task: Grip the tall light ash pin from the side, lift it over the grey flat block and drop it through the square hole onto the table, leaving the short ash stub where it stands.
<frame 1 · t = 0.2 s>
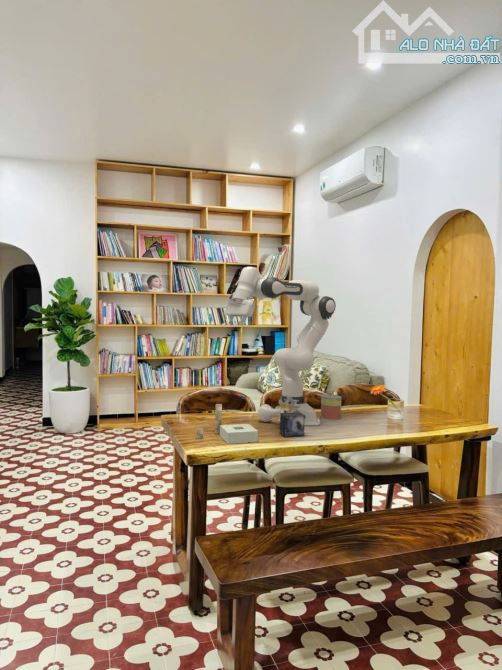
hand: (235, 324, 233), 52 cm above the table, tool tilted 20°, fingers open, 8 cm apart
canned food: (330, 417, 270), on the table
short pin: (199, 438, 220), on the table
tall pin: (218, 433, 229), on the table
small box: (291, 435, 230), on the table
grey flat block: (238, 438, 221), on the table
flower vase: (277, 425, 249), on the table, touching arm
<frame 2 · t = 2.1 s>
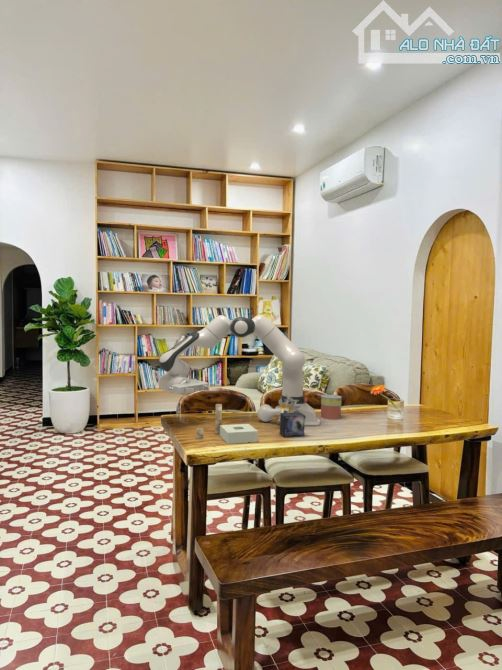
hand: (201, 389, 236), 20 cm above the table, tool horizontal, fingers open, 8 cm apart
nothing on the table moved.
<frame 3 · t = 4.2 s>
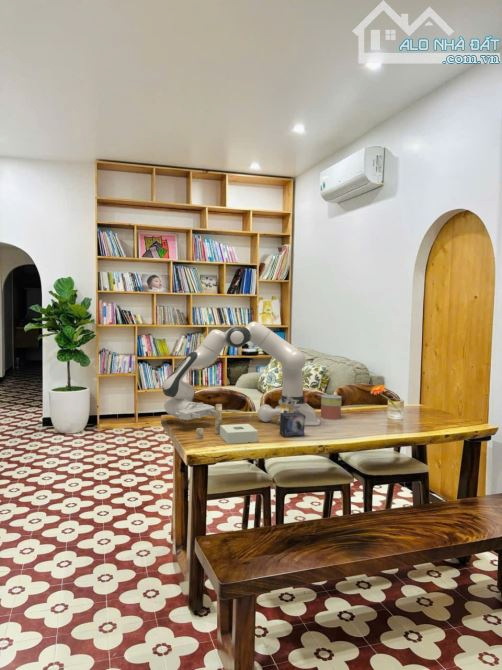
hand: (208, 414, 234), 8 cm above the table, tool horizontal, fingers open, 8 cm apart
nothing on the table moved.
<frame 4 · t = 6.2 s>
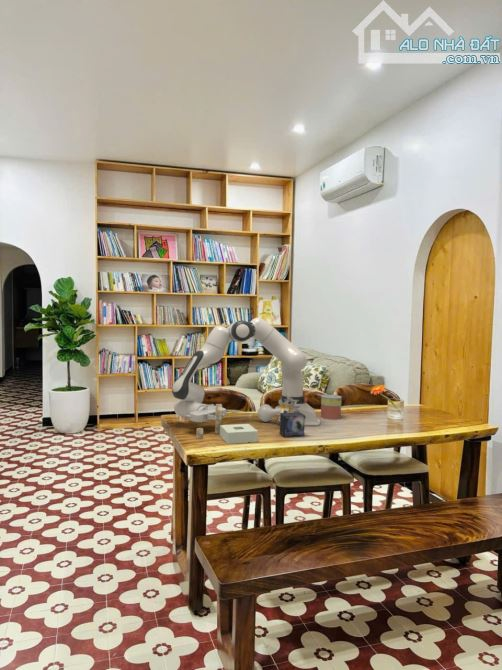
hand: (219, 417, 228), 8 cm above the table, tool horizontal, fingers closed on tall pin, 3 cm apart
tall pin: (218, 433, 229), on the table, touching gripper
everything else where it was.
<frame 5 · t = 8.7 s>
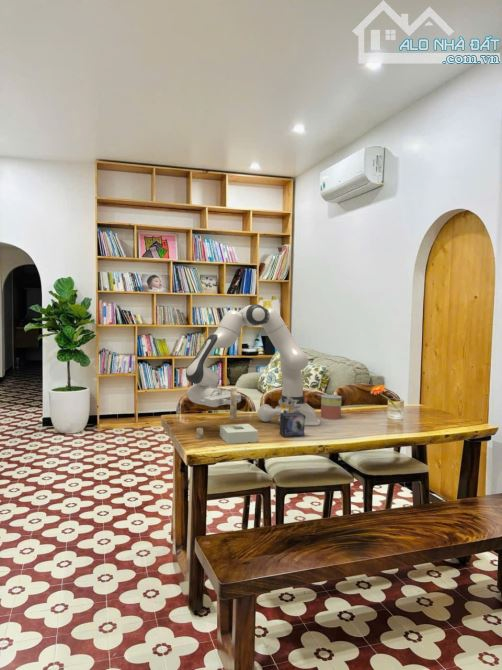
hand: (234, 401, 222), 17 cm above the table, tool horizontal, fingers closed on tall pin, 3 cm apart
tall pin: (233, 418, 223), point 9 cm above the table, touching gripper
everything else where it was.
when the fingers open (10 cm above the table, at t = 11.0 s): tall pin drops 2 cm, resting in grey flat block.
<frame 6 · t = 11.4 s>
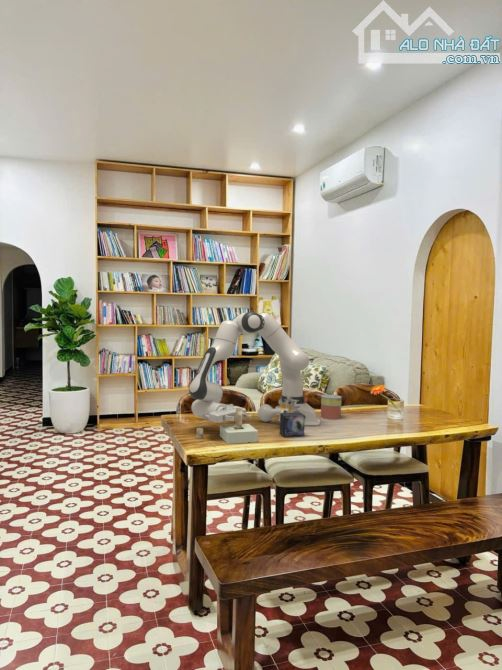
hand: (240, 417, 220), 10 cm above the table, tool horizontal, fingers open, 6 cm apart
tall pin: (238, 438, 221), resting in grey flat block
everything else where it was.
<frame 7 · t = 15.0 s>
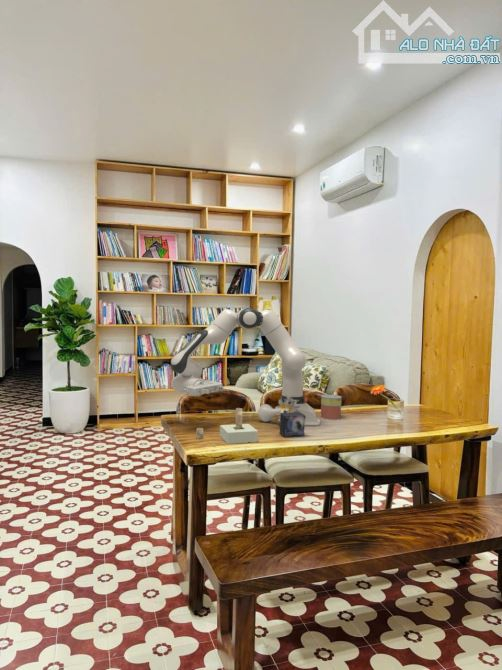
hand: (216, 390, 232), 20 cm above the table, tool horizontal, fingers open, 8 cm apart
nothing on the table moved.
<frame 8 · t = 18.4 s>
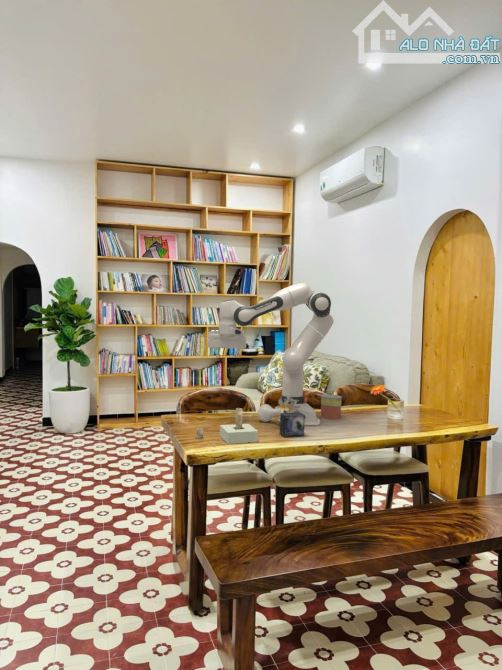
hand: (226, 356, 253), 34 cm above the table, tool pointing down, fingers open, 8 cm apart
nothing on the table moved.
at the end: tall pin 0.0 cm off-centre on the grey flat block, point 0.0 cm above the grey flat block's base; tall pin tilted 0°; short pin moved 0.0 cm from its start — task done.
